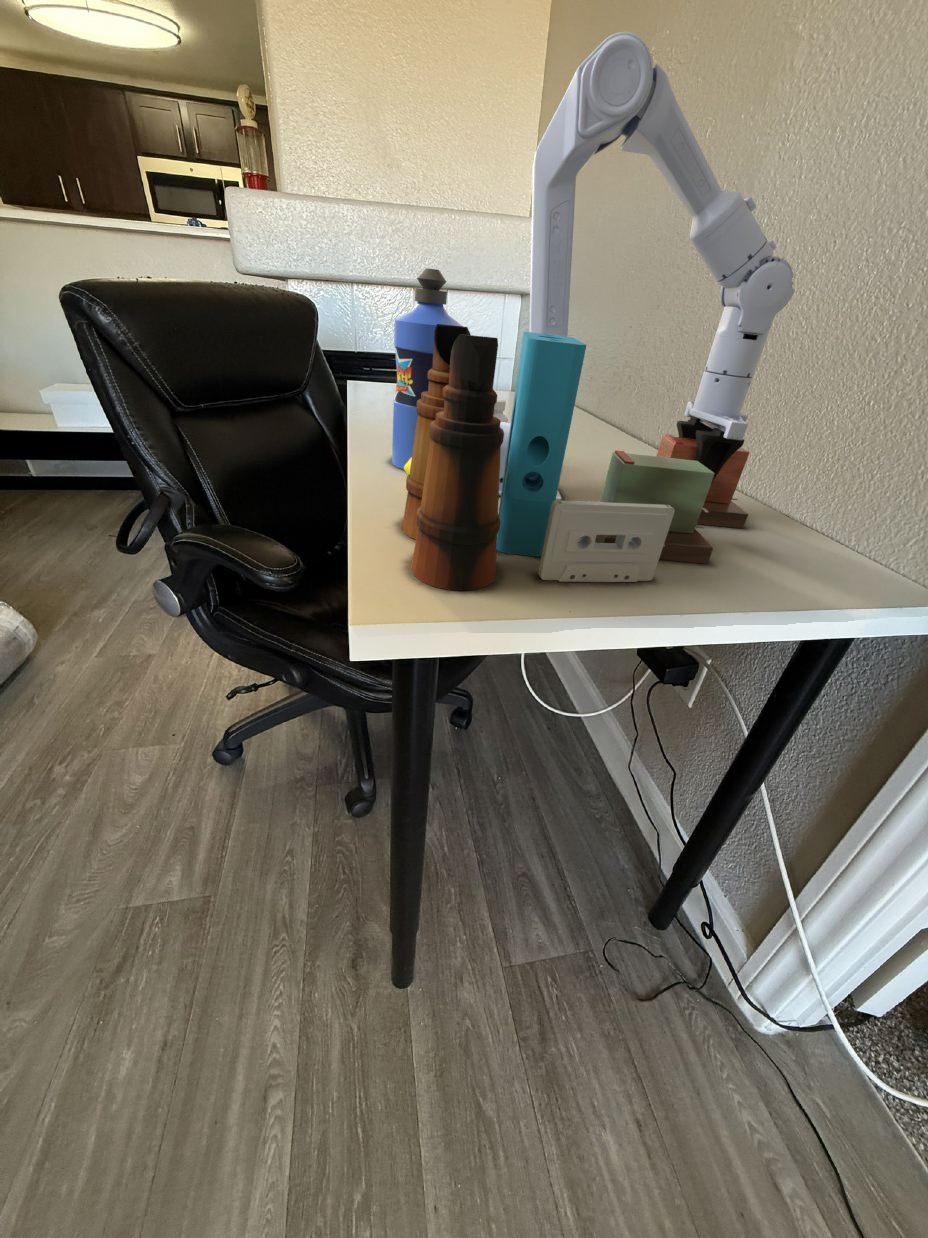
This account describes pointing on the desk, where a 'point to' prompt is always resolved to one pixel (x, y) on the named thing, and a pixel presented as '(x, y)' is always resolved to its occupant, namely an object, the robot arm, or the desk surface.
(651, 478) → the green box
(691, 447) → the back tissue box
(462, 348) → the binoculars
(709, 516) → the back stand
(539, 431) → the block
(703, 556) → the front stand
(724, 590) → the desk surface
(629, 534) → the cassette
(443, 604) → the desk surface
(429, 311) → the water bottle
